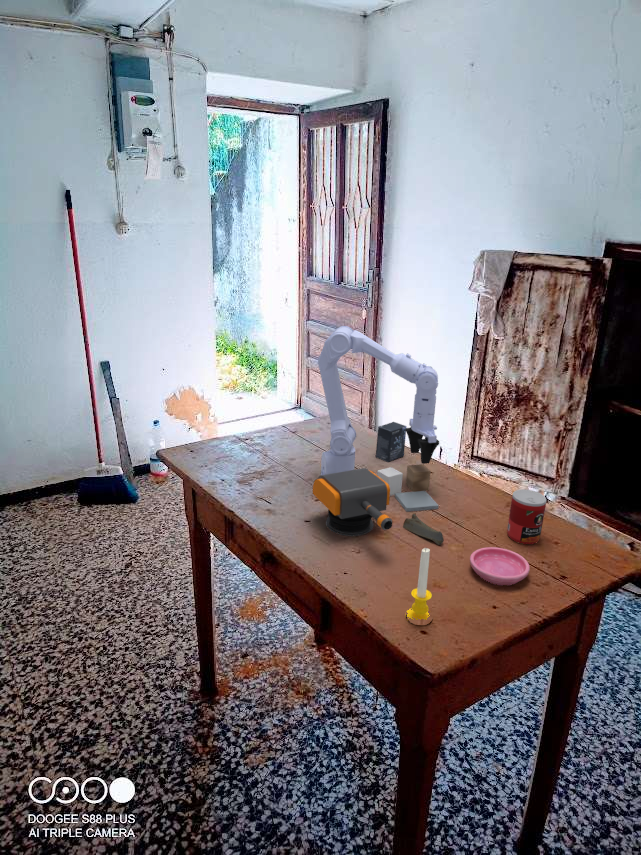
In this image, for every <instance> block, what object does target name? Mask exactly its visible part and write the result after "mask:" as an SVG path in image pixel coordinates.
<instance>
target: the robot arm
mask: <svg viewBox="0 0 641 855" xmlns="http://www.w3.org/2000/svg"><path fill="white" fill-rule="evenodd" d="M350 350H352V351H351V354H356V353H365V354H367V355H369V356H371V357H373V358H375V359H376V360H379V361H381V362H382V363H384V364H387V365H389V368H390V370H391V373H393V374H394V375H396V376H398V377H399V378H401V379H403V380H406V381H407V382H409V383H411V384H414V385H415V387H416V391H415V392H416V393H415V394H414V403H413V412H412V413H413V414H412V418H409V424H408V425H409V426H410V427H406V429H405V430H406V435H407V437H408V441H409V448H410V453H411V454H419V452H420V462H421V464H424V465H425V464H430V463H431V462H430V461H431V460H432V456H433V454H434V453H435V450H436V448H438V446H439V445H440V440H439V439H437V438H438V436H437V435H436V430H438V426H437V425H435V424H434V422H435V413H436V402H437V396H436V395H437V388H438V387H439V375H438V372H437V371H436V369H435V368H433V367H432V366H430V365H427V364H426V363H420V362H419V361H417V360H416V359H413V358H412V355H411V354H410V353H406V354H405V353H403V352H401V353H398V354H395V352H392V351H390V350H389V349H387V348H386V347H384V346H383V345H381V344H380V343H377V341H374V340H373V339H372V338H370V337H369V336H367V335H366V334H364V333H362V332H360V331H358V330H356V329H353V328H351V327H350V326H347V325H341V326H339V327H337V328H336V329H335V330H334V331H333V332H332V333H331V334H330V335H329V336H328V338H327V339H326V340H325V341H324V343H323V346H322V349H321V352H320V354H319V356H318V360H317V365H318V368H319V373H320V378H321V383H322V387H323V392H324V396H325V401H326V406H327V411H328V416H329V419H330V436H331V438H330V441H329V447H330V449H329V450H326V451H323V452H322V453H321V458H320V459H321V463H320V465H321V466H320V475H326V474H332V473H338V472H344V471H350V470H355V463H356V448H355V446H354V445H353V444H354V442H355V440H356V438H357V432H356V430H355V428H354V427H353V425H352V422H351V419H350V418H349V416H348V412H347V408H346V403H345V397H344V392H343V389H342V387H343V386H342V384H341V379H340V372H339V369H338V368H339V367H338V362H339V361H340V359H341V358H342V357H343V356H345V355H346V354H347V353H349V351H350ZM320 475H319V476H320Z"/></svg>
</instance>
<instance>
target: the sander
mask: <svg viewBox="0 0 641 855" xmlns="http://www.w3.org/2000/svg"><path fill="white" fill-rule="evenodd" d="M312 494H313V495H314V497H316V498H317V499H318V501H320V502H321V504H322V505H324V506H325V507H326V509H327V515H328V516H327V517H326V521H325V526H326V528H327V527H328V528H329V529H330V530H331V532H332V531H333V532H332V533H334V532H335V533H334V534H336V533H337V534H336V535H339V534H340V536H344V535H345V536H344V537H359V536H364V535H367V534H369V533H371V532H372V530H373V529H374V525H375V524H374V520H375V522H376V524H377V526H379V527H380V529H382V530H384V531H387V530H390V529H391V528H392V526H393V519H392V518H391V517H389V515H388V514H385V513H382V512H383V511H386V510H387V506H390V497H391V496H390V487H389V484H388V483H386V482H385V481H384V480H382V479H381V478H380V477H379V476H377V473H375V472H374V471H373V470H370V469H368V468H365V467H363V468H357V469H354V470H350V471H344V472H338V473H332V474H326V475H319V476H318V478H317V479H315V480H314V482H313V484H312ZM372 518H373V519H374V520H373V519H372ZM328 528H327V529H328ZM329 529H328V530H329ZM330 530H329V531H330Z"/></svg>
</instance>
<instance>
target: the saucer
mask: <svg viewBox="0 0 641 855" xmlns="http://www.w3.org/2000/svg"><path fill="white" fill-rule="evenodd" d="M469 563H470V566H471V567H472V569H473V571H474V572H475V573H476V574H477V576H478V575H479V576H480V577H479V576H478V577H479V578H481V579H482V578H483V579H484V581H485V580H486V581H485V582H487V581H488V582H487V583H489V582H490V584H492V583H493V584H492V585H496V584H497V586H503V585H507V586H512V584H513V585H515V584H517V583H518V582H521V581H522V580H524V579H526V577H528V575H529V572H530V568H531V567H530V564H529V562H528V561H527V560H526V558H524V557H523V556H522V555H521V554H519V553H517V552H515V551H512V550H510V549H506V548H502V547H495V546H492V547H491V546H488V547H482V548H478V549H476V550H474V551H473V552H472V553H471V554H470V556H469ZM483 579H482V580H483Z"/></svg>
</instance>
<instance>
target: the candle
mask: <svg viewBox="0 0 641 855" xmlns="http://www.w3.org/2000/svg"><path fill="white" fill-rule="evenodd" d="M430 552H431V549H430V548H427V547H424V548H422V549H421V553H420V559H419V560H420V561H419V570H418V577H417V578H418V581H417V587H415V588H413V589H412V591H411V592H410V594H411V597H413V599H414V602H413V603H412V604H411V608H409V610H408V609H407V610H406V612H407V613H408V614H407V617H409V618H411V619H413V618H415V619H416V620H418V619H420V620H421V619H424V620H425V619H426V620H427V618H428V617H429V616H430V615H429V613H428V611H429V610H430V609H429V605H428V602H427V601H429V600H431V599H432V596H433V594H432V592H431V591H430V590H428V589H427V588H428V577H429V576H428V575H429V565H430V554H431V553H430ZM411 609H412V610H411ZM428 615H429V616H428ZM412 617H413V618H412ZM409 618H408V619H409ZM417 618H418V619H417ZM413 620H414V619H413Z"/></svg>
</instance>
